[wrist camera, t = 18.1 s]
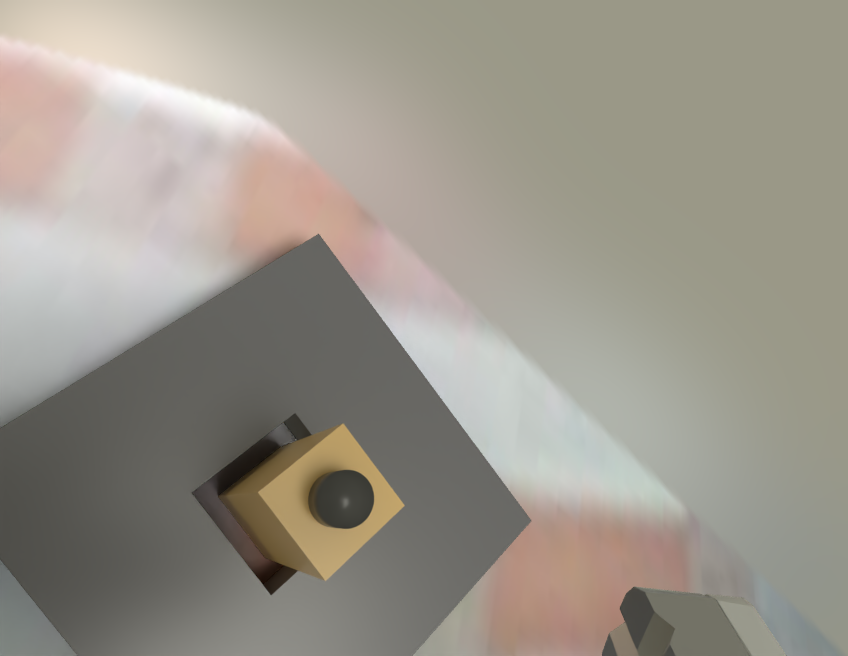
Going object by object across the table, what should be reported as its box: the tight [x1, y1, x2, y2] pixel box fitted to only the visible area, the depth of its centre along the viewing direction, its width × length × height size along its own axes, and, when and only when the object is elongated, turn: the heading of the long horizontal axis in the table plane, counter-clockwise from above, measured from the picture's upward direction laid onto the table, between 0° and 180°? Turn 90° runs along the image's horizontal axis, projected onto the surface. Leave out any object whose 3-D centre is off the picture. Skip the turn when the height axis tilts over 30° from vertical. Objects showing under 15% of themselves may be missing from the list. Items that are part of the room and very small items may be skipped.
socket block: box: [0, 234, 531, 656], centre depth 32 cm, size 20×20×3 cm
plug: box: [218, 424, 405, 581], centre depth 27 cm, size 4×4×12 cm
